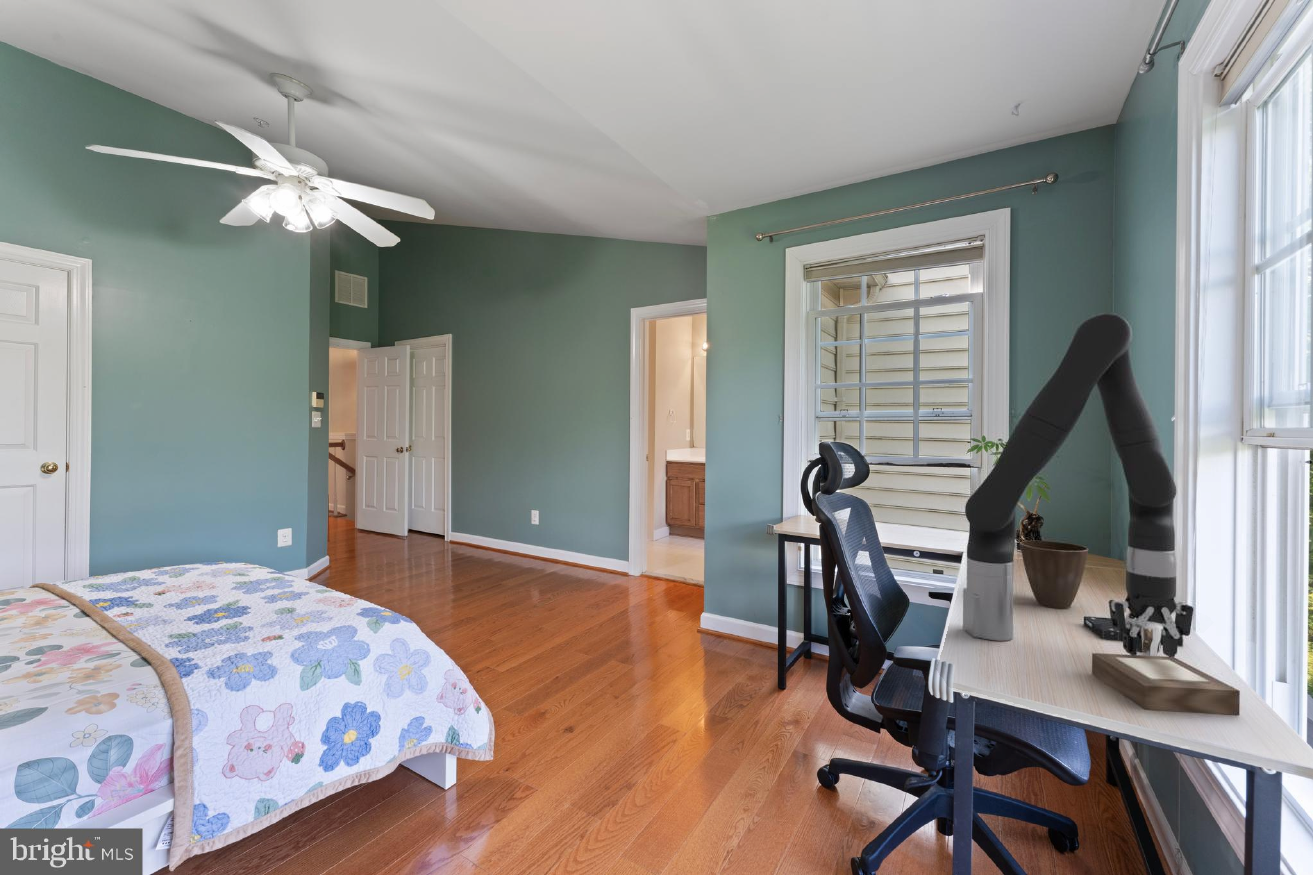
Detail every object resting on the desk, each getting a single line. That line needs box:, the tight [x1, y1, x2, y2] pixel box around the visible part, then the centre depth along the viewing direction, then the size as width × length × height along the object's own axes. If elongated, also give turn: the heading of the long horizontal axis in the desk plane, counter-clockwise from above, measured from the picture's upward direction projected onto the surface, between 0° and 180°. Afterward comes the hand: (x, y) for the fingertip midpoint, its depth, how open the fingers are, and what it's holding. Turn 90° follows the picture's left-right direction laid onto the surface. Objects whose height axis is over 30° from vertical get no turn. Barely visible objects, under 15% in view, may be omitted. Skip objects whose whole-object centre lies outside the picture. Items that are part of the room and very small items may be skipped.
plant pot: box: [1019, 540, 1089, 610], centre depth 151 cm, size 15×15×16 cm
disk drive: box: [1083, 615, 1184, 647], centre depth 129 cm, size 10×3×15 cm
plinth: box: [1091, 652, 1241, 716], centre depth 100 cm, size 14×14×4 cm
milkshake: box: [1135, 618, 1163, 656], centre depth 112 cm, size 5×5×10 cm
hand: (1149, 654), depth 112 cm, fingers open, 6 cm apart
